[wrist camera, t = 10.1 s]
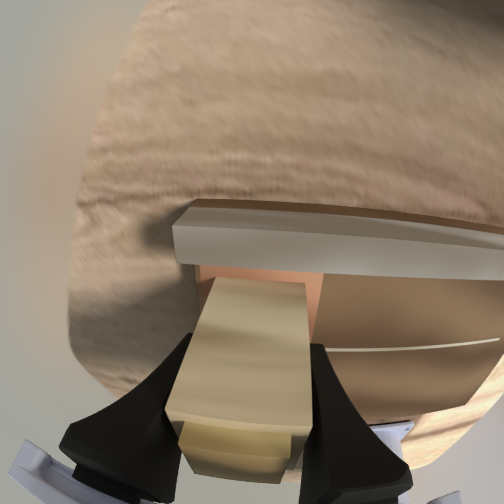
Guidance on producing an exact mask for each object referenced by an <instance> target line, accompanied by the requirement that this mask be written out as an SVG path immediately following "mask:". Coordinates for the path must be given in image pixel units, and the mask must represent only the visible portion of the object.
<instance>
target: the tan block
mask: <svg viewBox="0 0 504 504" xmlns="http://www.w3.org/2000/svg"><path fill="white" fill-rule="evenodd" d="M165 411H166V413H167V415H168V418H169V420H170V422H171V424H172V426H173V428H174V431H175V433H176V435H177V437H178V439H179V441H178V445H179V447H180V449H181V451H182V452H183V454H184V456H185V458H186V460H187V462H188V463H189V465H190V467H191V469H192V470H193V472H194V474H199V475H205V476H211V477H216V478H223V479H230V480H237V481H246V482H257V483H271V484H280V482H281V479H282V477H283V475H284V472H285V470H286V469H287V470H293V469H294V467H295V465H296V462H297V460H298V458H299V456H300V454H301V452H302V449H303V447H304V445H305V443H306V440H307V438H308V436H309V433H310V431H311V429H312V386H311V362H310V343H309V326H308V311H307V298H306V286H305V283H298V282H282V281H267V280H252V279H239V278H225V277H216V278H215V281H214V283H213V286H212V288H211V291H210V293H209V296H208V298H207V301H206V303H205V306H204V308H203V311H202V313H201V316H200V318H199V321H198V323H197V326H196V328H195V331H194V333H193V336H192V338H191V341H190V344H189V346H188V349H187V351H186V354H185V357H184V359H183V362H182V364H181V367H180V370H179V372H178V375H177V377H176V380H175V383H174V385H173V388H172V391H171V393H170V396H169V399H168V401H167V404H166V407H165Z"/></svg>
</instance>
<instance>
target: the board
mask: <svg viewBox="0 0 504 504" xmlns="http://www.w3.org/2000/svg"><path fill="white" fill-rule="evenodd" d="M172 230H173V239H174V248H175V256H176V263H181V264H194V267H195V277H196V286H197V295H198V303H199V312H200V316H201V313H202V311H203V308H204V306H205V303H206V301H207V298H208V296H209V293H210V291H211V288H212V286H213V283H214V281H215V278H216V277H225V278H239V279H252V280H267V281H282V282H298V283H305V286H306V298H307V311H308V326H309V343H317V344H323V345H324V347H325V350H326V352H327V355H328V357H329V360H330V362H331V364H332V367H333V369H334V371H335V373H336V375H337V377H338V379H339V381H340V383H341V385H342V387H343V388H344V390H345V392H346V394H347V395H348V397H349V399H350V400H351V402H352V403H353V405H354V407H355V408H356V410H357V411H358V412H359V414H360V415H361V417H362V418H363V419H364V421H369V420H380V419H390V418H398V417H406V416H412V415H419V414H425V413H430V412H436V411H441V410H445V409H450V408H454V407H459V406H463V405H465V404H466V403H467V402H468V401H469V400H470V399H471V397H472V396H473V395H474V394H475V392H476V391H477V390H478V389H479V387H480V386H481V385H482V384H483V382H484V381H485V380H486V378H487V377H488V376H489V374H490V373H491V371H492V370H493V369H494V367H495V366H496V364H497V363H498V361H499V360H500V358H501V357H502V355H503V354H504V228H502V227H496V226H491V225H485V224H479V223H473V222H467V221H460V220H454V219H447V218H440V217H433V216H426V215H418V214H410V213H402V212H393V211H385V210H375V209H365V208H355V207H344V206H333V205H320V204H306V203H291V202H274V201H255V200H229V199H197V200H196V201H195V202H194V203H193V204H192V205H191V206H190V207H189V208H188V209H187V210H186V211H185V212H184V213H183V214H182V216H181V217H180V218H179V219H178V220H177V221H176V222H175V223H174V224H173V225H172Z"/></svg>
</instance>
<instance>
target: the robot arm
mask: <svg viewBox="0 0 504 504" xmlns="http://www.w3.org/2000/svg"><path fill="white" fill-rule="evenodd" d="M192 336H193V333H188V334H187V335H186V336H185V337H184V338H183V339H182V341H181V342H180V343H179V344H178V345H177V347H176V348H175V349H174V350H173V351H172V352H171V353H170V355H169V356H168V357H167V358H166V359H165V360H164V361H163V362H162V363H161V364H160V365H159V366H158V367H157V368H156V369H155V370H154V371H153V372H152V373H151V374H150V375H149V376H148V377H147V378H146V379H145V380H143V381H142V382H141V383H140V384H139V385H138V386H136V387H135V388H134V389H133V390H131V391H130V392H129V393H127V394H126V395H124V396H123V397H122V398H120V399H119V400H117V401H116V402H114V403H113V404H111V405H109V406H107V407H106V408H104V409H102V410H100V411H98V412H97V413H95V414H93V415H91V416H88V417H86V418H84V419H82V420H79V421H77V422H74V423H72V424H70V426H69V427H68V429H67V430H66V432H65V435H64V436H63V438H62V441H61V442H60V445H59V448H60V450H61V451H62V452H63V453H64V454H65V455H66V456H68V457H69V458H70V459H71V460H72V461H74V462H75V463H76V464H77V465H76V467H75V470H73V469H71V468H69V467H67V466H65V465H64V464H62V463H60V462H58V461H57V460H55V459H53V458H52V457H51V456H50V455H49V454H48V453H46V452H45V451H44V450H42V449H41V448H39V447H38V446H36V445H35V444H33V443H31V442H30V441H28V440H25V441H24V443H23V445H22V447H21V449H20V451H19V452H18V454H17V457H16V458H15V461H14V463H13V465H12V466H11V468H10V471H9V473H8V476H10V477H11V478H12V479H13V480H14V481H15V482H17V483H18V484H19V485H20V486H22V487H23V488H24V489H25V490H27V491H28V492H29V493H31V494H32V495H33V496H35V497H36V498H37V499H38V500H40V501H41V502H42V503H44V504H157V503H153V501H154V502H158V503H165V504H169V503H172V502H173V501H174V498H175V490H176V482H177V476H178V470H179V464H180V459H181V454H182V451H181V449H180V447H179V445H178V441H179V439H178V437H177V435H176V433H175V431H174V428H173V426H172V424H171V422H170V420H169V418H168V415H167V413H166V411H165V407H166V404H167V401H168V399H169V396H170V393H171V391H172V388H173V385H174V383H175V380H176V377H177V375H178V372H179V370H180V367H181V364H182V362H183V359H184V357H185V354H186V351H187V349H188V346H189V344H190V341H191V338H192ZM310 362H311V386H312V429H311V431H310V433H309V436H308V438H307V440H306V443H305V445H304V451H303V466H302V478H301V487H300V496H299V504H409V496H408V490H409V489H411V487H412V486H413V480H412V475H411V472H410V469H409V465H408V464H407V463H405V462H404V460H403V454H402V448H401V443H400V440H401V439H402V438H403V437H404V436H405V435H406V434H407V433H408V432H409V431H410V430H411V429H412V427H413V426H414V422H413V421H409V422H403V423H395V424H387V425H378V426H368V424H367V423H366V422H365V421H364V419H363V418H362V417H361V415H360V414H359V412H358V411H357V410H356V408H355V407H354V405H353V403H352V402H351V400H350V399H349V397H348V395H347V394H346V392H345V390H344V388H343V387H342V385H341V383H340V381H339V379H338V377H337V375H336V373H335V371H334V369H333V367H332V364H331V362H330V360H329V357H328V355H327V352H326V350H325V347H324V345H323V344H317V343H310ZM427 504H462V500H461V493H460V491H459V490H458V491H455V492H453V493H450V494H447V495H445V496H442V497H439V498H436V499H434V500H432V501H430V502H428V503H427Z"/></svg>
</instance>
